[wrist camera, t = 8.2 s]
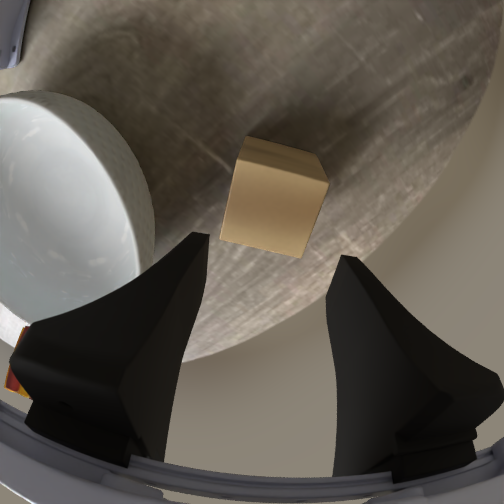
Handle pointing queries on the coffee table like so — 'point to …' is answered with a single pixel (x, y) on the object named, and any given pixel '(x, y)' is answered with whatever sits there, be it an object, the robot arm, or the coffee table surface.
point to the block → (274, 197)
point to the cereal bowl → (67, 206)
